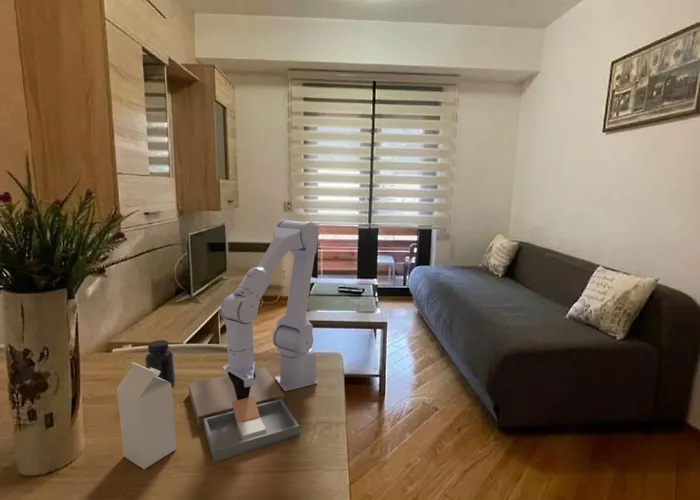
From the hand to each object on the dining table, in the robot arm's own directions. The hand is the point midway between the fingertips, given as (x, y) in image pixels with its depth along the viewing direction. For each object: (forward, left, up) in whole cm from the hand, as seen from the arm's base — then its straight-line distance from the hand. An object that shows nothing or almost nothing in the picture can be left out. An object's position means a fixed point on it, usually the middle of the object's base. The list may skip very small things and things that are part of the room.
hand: (242, 400), depth 97 cm
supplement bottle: (+16, -23, -4) cm, 29 cm away
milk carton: (+20, +5, -4) cm, 21 cm away
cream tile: (0, +8, -2) cm, 8 cm away
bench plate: (0, -7, -4) cm, 8 cm away
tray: (0, +7, -4) cm, 8 cm away
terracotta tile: (0, +3, -1) cm, 3 cm away
